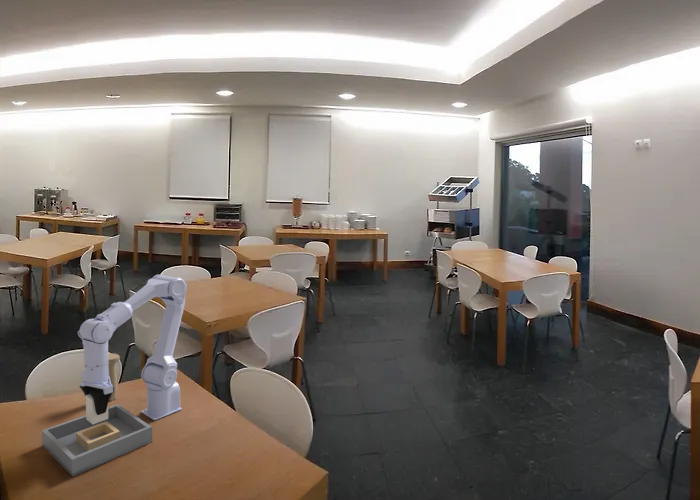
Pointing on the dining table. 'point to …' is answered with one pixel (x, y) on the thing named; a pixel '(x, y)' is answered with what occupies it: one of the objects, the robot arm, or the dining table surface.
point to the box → (95, 439)
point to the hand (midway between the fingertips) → (97, 410)
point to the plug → (91, 412)
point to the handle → (113, 372)
